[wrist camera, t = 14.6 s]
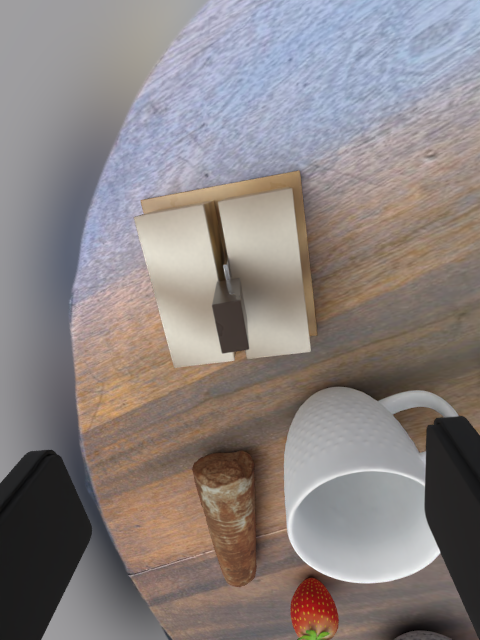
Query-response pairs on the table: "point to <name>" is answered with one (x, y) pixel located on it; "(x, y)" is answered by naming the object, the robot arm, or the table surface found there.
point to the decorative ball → (422, 636)
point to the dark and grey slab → (230, 313)
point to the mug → (358, 486)
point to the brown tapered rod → (230, 511)
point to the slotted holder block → (231, 265)
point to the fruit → (313, 611)
